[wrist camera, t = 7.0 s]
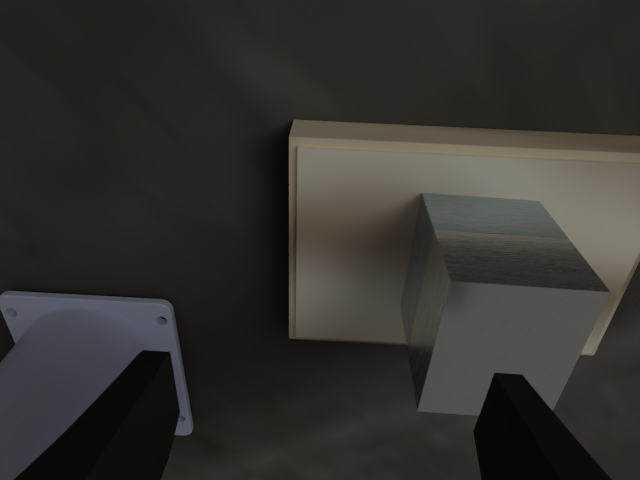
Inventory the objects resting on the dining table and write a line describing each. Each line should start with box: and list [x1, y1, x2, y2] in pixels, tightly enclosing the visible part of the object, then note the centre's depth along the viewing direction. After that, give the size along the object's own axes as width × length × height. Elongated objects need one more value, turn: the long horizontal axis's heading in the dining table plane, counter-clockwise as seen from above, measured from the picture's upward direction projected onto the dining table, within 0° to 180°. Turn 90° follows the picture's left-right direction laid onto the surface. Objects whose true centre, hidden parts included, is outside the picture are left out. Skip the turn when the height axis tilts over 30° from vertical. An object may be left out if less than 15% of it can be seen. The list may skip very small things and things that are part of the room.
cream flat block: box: [289, 120, 640, 355], centre depth 18 cm, size 9×13×2 cm
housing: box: [400, 193, 611, 416], centre depth 15 cm, size 5×4×5 cm
